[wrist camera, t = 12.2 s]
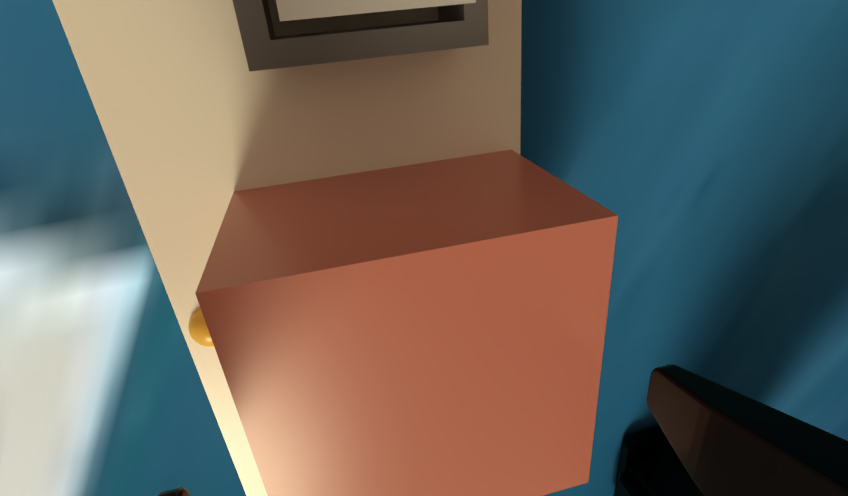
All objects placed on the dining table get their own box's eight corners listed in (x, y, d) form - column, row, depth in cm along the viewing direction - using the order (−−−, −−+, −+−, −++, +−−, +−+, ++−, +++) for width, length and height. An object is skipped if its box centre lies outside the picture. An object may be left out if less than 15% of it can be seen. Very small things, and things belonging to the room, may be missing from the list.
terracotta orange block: (511, 358, 16) (588, 482, 12) (294, 408, 15) (293, 566, 11) (511, 149, 13) (617, 215, 9) (233, 191, 12) (195, 293, 7)
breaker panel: (488, -220, 11) (575, -330, 8) (500, 469, 22) (538, 555, 18) (13, -214, 9) (-157, -351, 6) (280, 530, 20) (276, 636, 17)
